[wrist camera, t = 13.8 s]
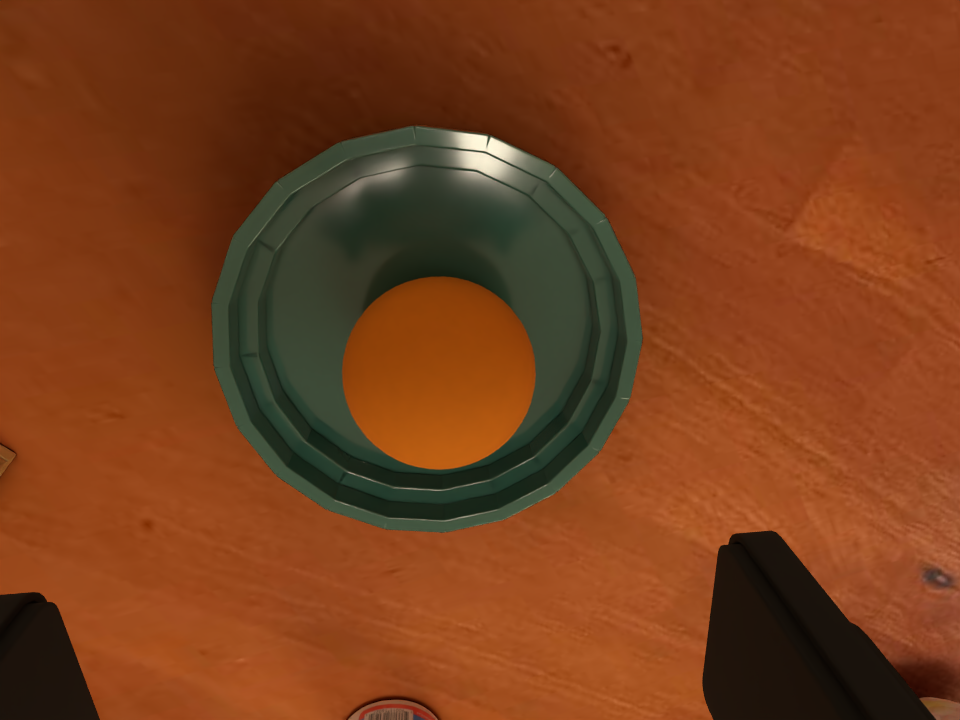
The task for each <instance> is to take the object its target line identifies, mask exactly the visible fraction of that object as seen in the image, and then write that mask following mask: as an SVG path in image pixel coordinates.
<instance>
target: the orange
mask: <svg viewBox="0 0 960 720" xmlns="http://www.w3.org/2000/svg"><path fill="white" fill-rule="evenodd" d="M535 377H536V372H535V358H534V353H533V348H532V345H531V342H530V340H529V337H528V334H527V332H526V330H525V328H524V326H523V324H522V323H521V321H520V320H519V318H518V317H517V316H516V314H515V313H514V312H513V310H512V309H511V308H510V307H509V306H508V305H507V304H506V303H505V302H504V301H503V300H502V299H501V298H499V297H498V296H497V295H495V294H494V293H492V292H491V291H489V290H488V289H486V288H484V287H482V286H480V285H478V284H475V283H473V282H470V281H467V280H463V279H459V278H454V277H445V276H441V277H426V278H419V279H415V280H412V281H408V282H405V283H403V284H401V285H398V286H396V287H394V288H392V289H390V290H389V291H387V292H385V293H384V294H383V295H381V296H380V297H379V298H377V299H376V300H375V301H374V302H373V303H372V304H371V305H370V306H369V307H368V308H367V309H366V310H365V311H364V313H363V314H362V315H361V317H360V318H359V319H358V321H357V322H356V324H355V326H354V328H353V330H352V331H351V334H350V336H349V339H348V341H347V345H346V348H345V353H344V357H343V366H342V378H343V389H344V394H345V398H346V401H347V404H348V407H349V409H350V412H351V415H352V417H353V418H354V420H355V422H356V424H357V425H358V427H359V428H360V429H361V431H362V432H363V433H364V435H365V436H366V437H367V438H368V439H369V440H370V441H371V442H372V443H373V444H374V445H375V446H376V447H378V448H379V449H380V450H382V451H383V452H384V453H386V454H387V455H389V456H391V457H392V458H394V459H396V460H398V461H400V462H403V463H405V464H408V465H412V466H415V467H420V468H426V469H452V468H458V467H462V466H466V465H470V464H472V463H475V462H477V461H479V460H481V459H483V458H485V457H487V456H489V455H490V454H492V453H493V452H495V451H496V450H498V449H499V448H500V447H501V446H502V445H504V444H505V443H506V442H507V441H508V440H509V439H510V438H511V437H512V435H513V434H514V433H515V432H516V430H517V429H518V427H519V426H520V424H521V423H522V421H523V419H524V417H525V416H526V414H527V412H528V409H529V406H530V404H531V401H532V396H533V392H534V387H535Z"/></svg>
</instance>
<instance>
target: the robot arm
mask: <svg viewBox="0 0 960 720" xmlns="http://www.w3.org/2000/svg"><path fill="white" fill-rule="evenodd" d="M702 684H703V692H704V697H705V700H706V704H707V706H708V709H709V711H710V713H711V715H712V717H713V720H936V718H935V717H934V716H933V715H932V714H931V712H930V711H929V710H928V709H927V707H926V706H925V705H924V704H923V703H922V701H921V700H920V699H919V698H918V696H917V695H916V694H915V693H914V692H913V690H912V689H911V688H910V687H909V685H908V684H907V683H906V682H905V681H904V679H903V678H902V677H901V676H900V674H899V673H898V672H897V671H896V670H895V668H894V667H893V666H892V665H891V664H890V662H889V661H888V660H887V659H886V657H885V656H884V655H883V654H882V653H881V651H880V650H879V649H878V648H877V646H876V645H875V644H874V643H873V642H872V640H871V639H870V638H869V637H868V636H867V635H866V634H865V633H864V632H863V631H862V630H861V629H860V628H859V627H858V626H856V625H855V624H853V623H851V622H849V621H848V619H847V618H846V617H845V616H844V614H843V613H842V612H841V611H840V609H839V608H838V607H837V606H836V604H835V603H834V602H833V601H832V600H831V598H830V597H829V596H828V595H827V593H826V592H825V591H824V590H823V588H822V587H821V586H820V585H819V583H818V582H817V581H816V580H815V578H814V577H813V576H812V575H811V573H810V572H809V571H808V570H807V569H806V567H805V566H804V565H803V564H802V562H801V561H800V560H799V559H798V557H797V556H796V555H795V554H794V552H793V551H792V550H791V549H790V547H789V546H788V545H787V544H786V543H785V541H784V540H783V539H782V538H781V536H779V535H778V534H777V533H776V532H774V531H762V532H750V533H738V534H734V535H732V536H731V538H730V540H729V544H728V545H722V546H721V547H720V548H719V551H718V557H717V565H716V573H715V582H714V590H713V598H712V606H711V614H710V622H709V630H708V638H707V646H706V655H705V663H704V671H703V682H702ZM0 720H100V719H99V716H98V713H97V711H96V708H95V705H94V703H93V700H92V697H91V695H90V692H89V689H88V687H87V684H86V681H85V679H84V676H83V673H82V671H81V668H80V665H79V663H78V660H77V657H76V655H75V652H74V649H73V647H72V644H71V641H70V639H69V636H68V633H67V631H66V628H65V625H64V623H63V620H62V617H61V615H60V612H59V609H58V608H57V606H56V605H55V604H54V603H53V602H47V601H46V599H45V597H44V596H43V595H41V594H40V593H36V592H30V593H18V594H6V595H0Z"/></svg>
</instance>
